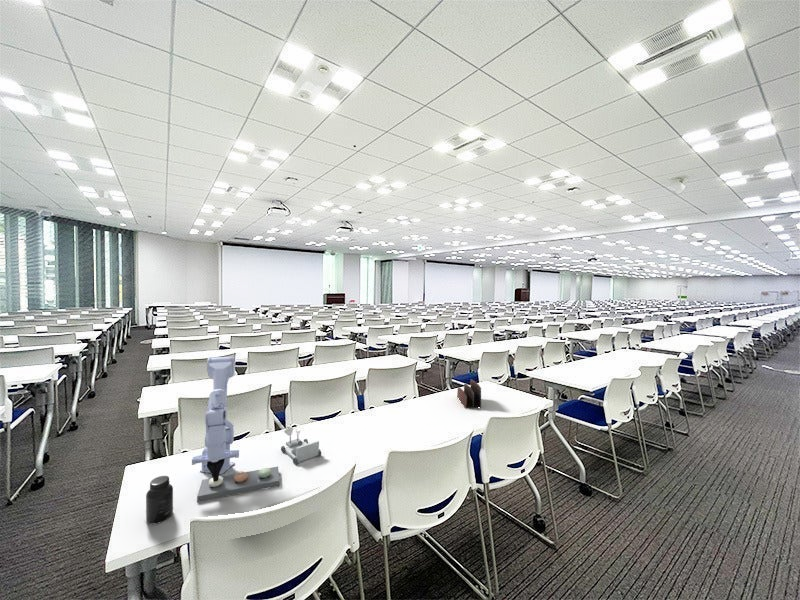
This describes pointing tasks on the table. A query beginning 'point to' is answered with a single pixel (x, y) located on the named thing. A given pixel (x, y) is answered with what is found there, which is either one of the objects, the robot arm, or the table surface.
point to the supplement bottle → (159, 500)
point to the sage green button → (264, 473)
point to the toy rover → (300, 448)
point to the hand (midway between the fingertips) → (216, 479)
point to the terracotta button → (240, 477)
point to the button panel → (238, 485)
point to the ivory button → (216, 482)
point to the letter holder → (470, 395)
